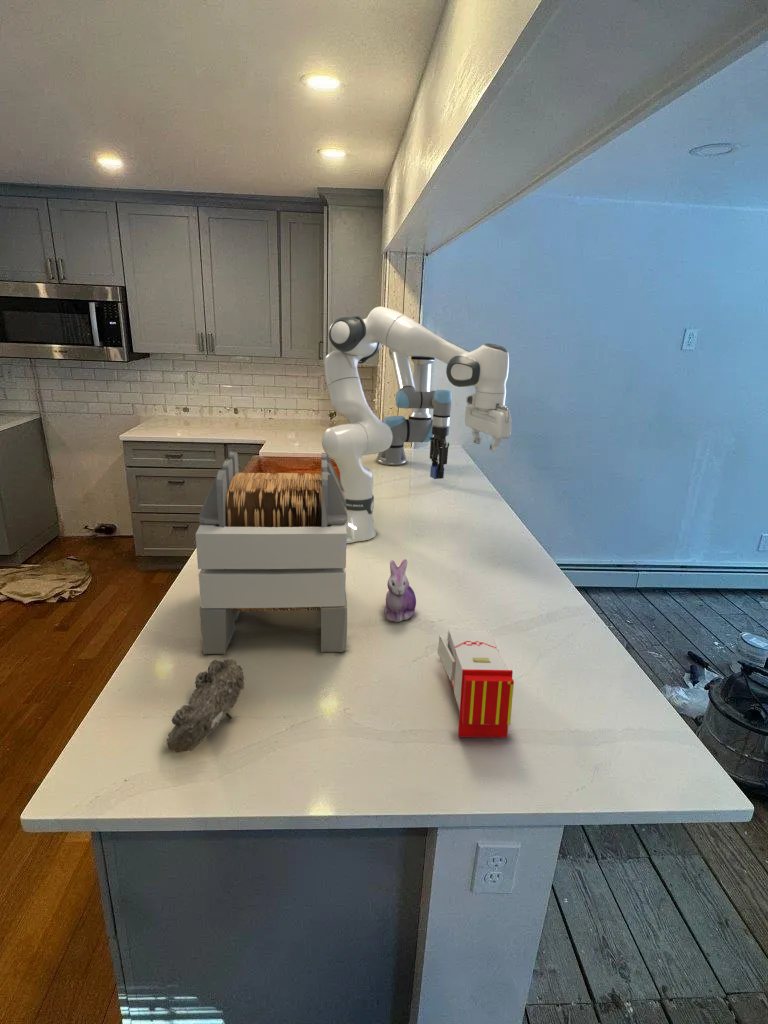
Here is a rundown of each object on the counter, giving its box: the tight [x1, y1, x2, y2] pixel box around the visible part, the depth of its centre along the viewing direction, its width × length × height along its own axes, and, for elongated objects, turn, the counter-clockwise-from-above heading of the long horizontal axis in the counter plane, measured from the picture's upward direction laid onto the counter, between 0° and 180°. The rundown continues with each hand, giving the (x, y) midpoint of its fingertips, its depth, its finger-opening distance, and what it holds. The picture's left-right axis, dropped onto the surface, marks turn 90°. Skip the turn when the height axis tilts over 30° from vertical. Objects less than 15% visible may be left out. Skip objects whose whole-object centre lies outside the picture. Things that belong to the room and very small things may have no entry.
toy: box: [437, 628, 515, 738], centre depth 117 cm, size 12×13×30 cm
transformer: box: [195, 450, 348, 656], centre depth 137 cm, size 34×33×41 cm
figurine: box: [384, 558, 417, 623], centre depth 145 cm, size 9×10×15 cm
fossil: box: [166, 658, 245, 754], centre depth 106 cm, size 22×10×15 cm
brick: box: [429, 465, 445, 480], centre depth 257 cm, size 4×5×5 cm
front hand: (484, 447), depth 172 cm, fingers open, 8 cm apart
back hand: (436, 476), depth 258 cm, fingers closed on brick, 4 cm apart
